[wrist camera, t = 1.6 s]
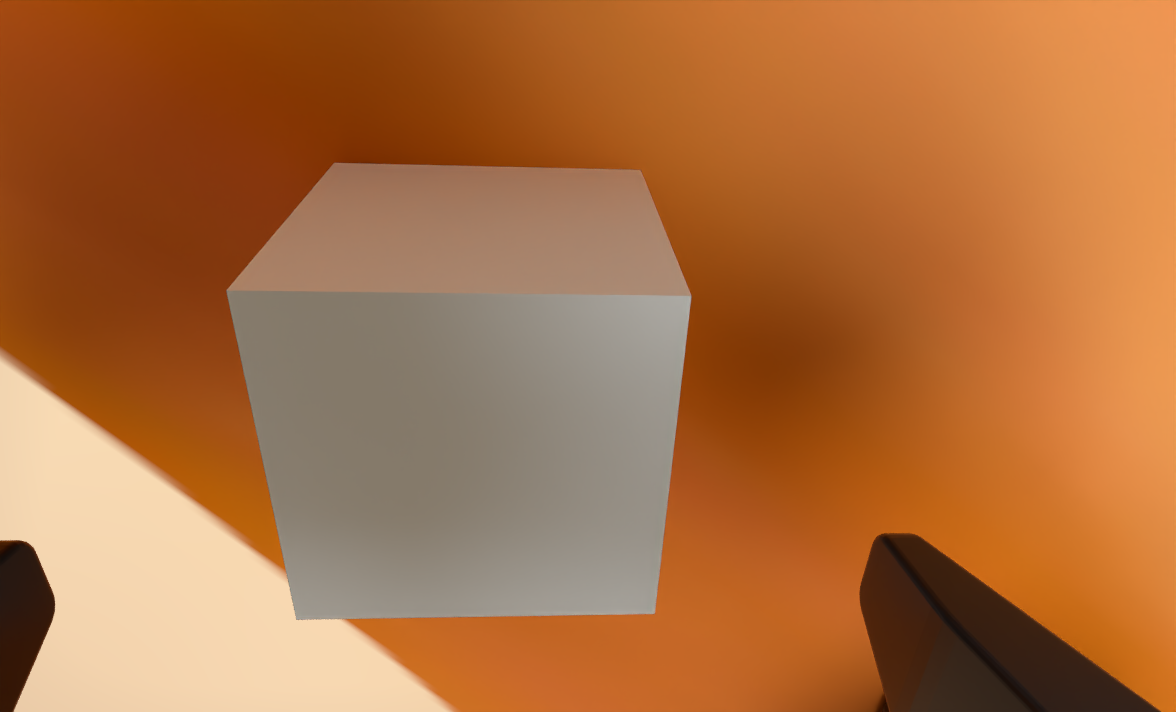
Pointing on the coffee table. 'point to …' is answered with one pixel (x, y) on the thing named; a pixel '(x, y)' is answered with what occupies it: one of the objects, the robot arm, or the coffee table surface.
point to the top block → (467, 390)
